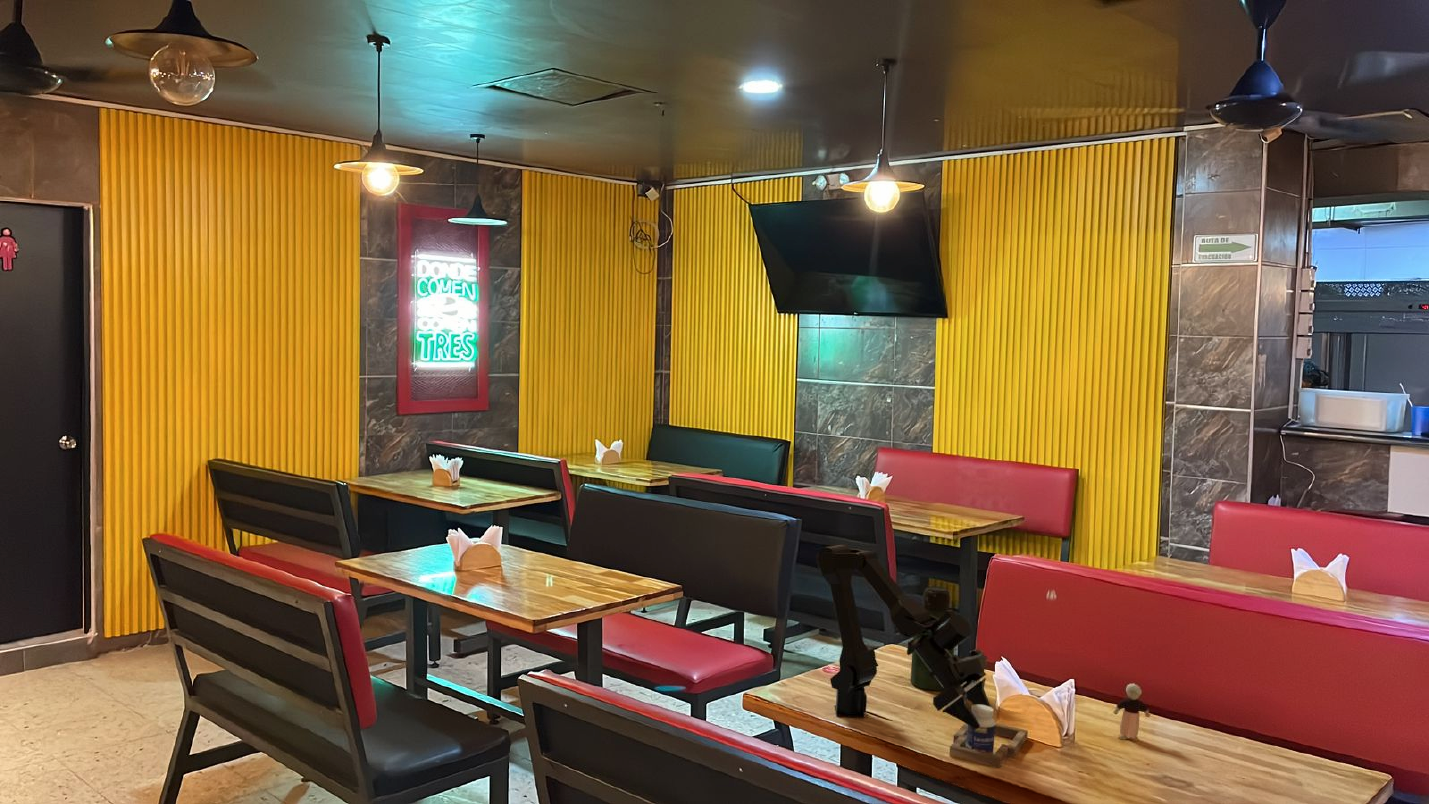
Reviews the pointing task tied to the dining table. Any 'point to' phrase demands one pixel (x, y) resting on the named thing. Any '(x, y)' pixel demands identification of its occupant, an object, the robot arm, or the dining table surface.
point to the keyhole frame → (997, 757)
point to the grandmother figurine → (1131, 713)
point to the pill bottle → (982, 730)
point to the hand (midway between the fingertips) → (985, 721)
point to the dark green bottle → (936, 605)
